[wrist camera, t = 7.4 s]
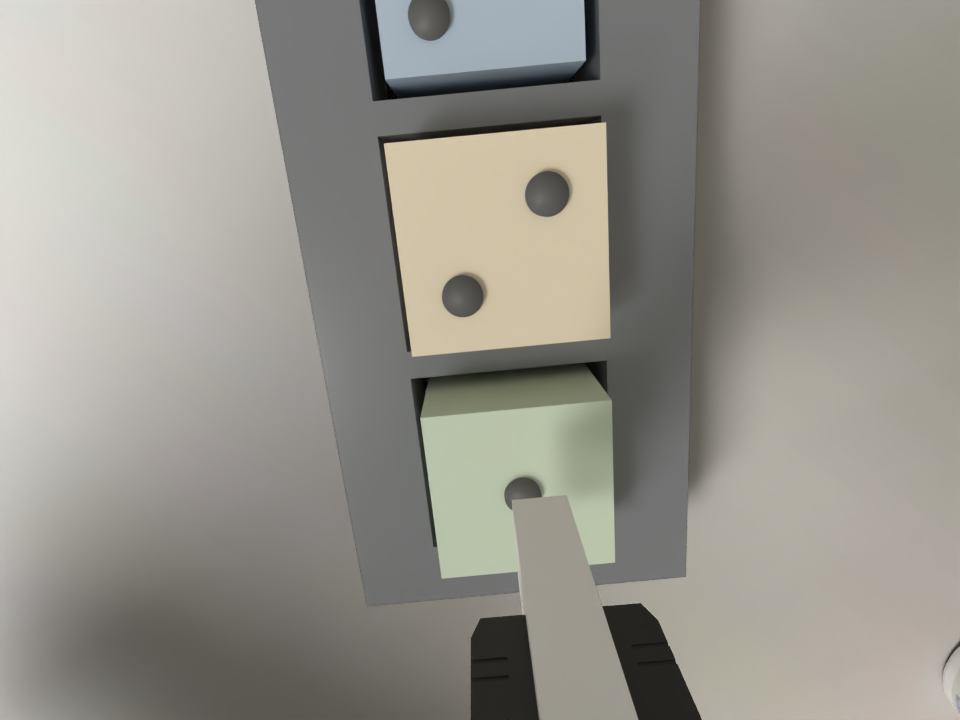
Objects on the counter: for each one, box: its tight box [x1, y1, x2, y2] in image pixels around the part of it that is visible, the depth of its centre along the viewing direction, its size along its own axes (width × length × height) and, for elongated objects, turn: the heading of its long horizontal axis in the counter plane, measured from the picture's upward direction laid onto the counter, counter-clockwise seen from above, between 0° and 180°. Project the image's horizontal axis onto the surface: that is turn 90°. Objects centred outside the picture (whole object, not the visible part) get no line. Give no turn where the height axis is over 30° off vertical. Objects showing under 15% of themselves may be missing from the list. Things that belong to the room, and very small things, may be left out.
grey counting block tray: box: [255, 0, 700, 606], centre depth 19 cm, size 13×28×4 cm, turn 5°
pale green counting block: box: [420, 363, 615, 579], centre depth 19 cm, size 6×6×4 cm
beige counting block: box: [384, 122, 611, 357], centre depth 17 cm, size 6×6×4 cm
